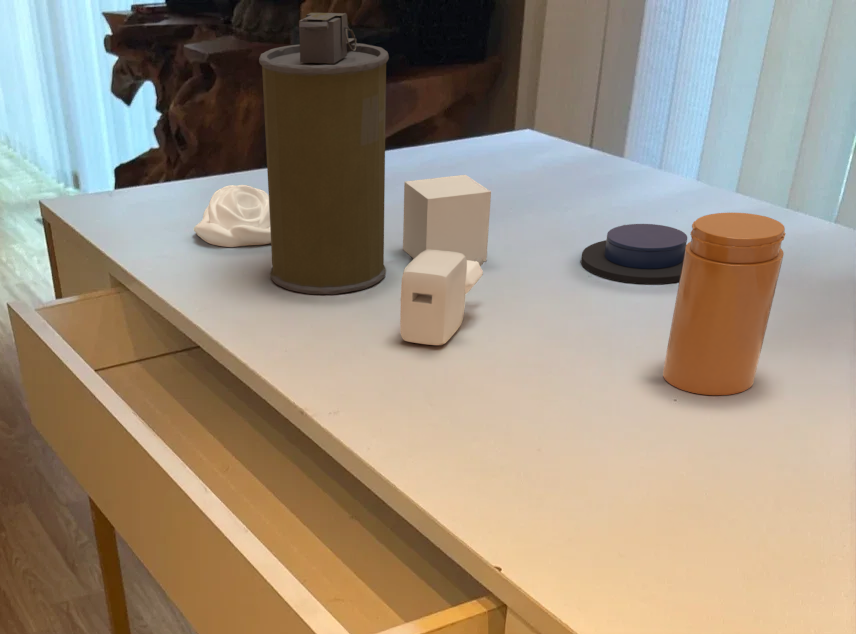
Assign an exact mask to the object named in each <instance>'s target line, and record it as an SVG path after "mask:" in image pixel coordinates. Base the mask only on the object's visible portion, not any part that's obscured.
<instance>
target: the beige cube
mask: <svg viewBox="0 0 856 634" xmlns="http://www.w3.org/2000/svg"><path fill="white" fill-rule="evenodd" d="M403 184H404V186H403V226H402V227H403V228H402V229H403V230H402V231H403V233H402V251H404V252H405V253H406V254H408V255H409V256H410V257H411V258H412V260H413V259H414V258H416V257H417V256H418V255H419V254H420V253H422V252H423V251H425V250H442V251H451V252H457V253H462V254H464V256H465V257H466V260H470V261H474V260H475V259H476V258H478V257H481V258H482V259H483V262H487V259H488V243H489V230H490V215H491V201H492V200H491V199H492V191H491V190H490V189H488V188H486V187H485V186H483V185H482V184H480V183H479V182H477V181H476V180H474V179H473V178H472V177H470V176H468V175H467V174H459V175H450V176H442V177H441V176H440V177H432V178H424V179H416V180H415V179H414V180H406V181H404V183H403Z"/></svg>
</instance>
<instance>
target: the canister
mask: <svg viewBox="0 0 856 634" xmlns="http://www.w3.org/2000/svg"><path fill="white" fill-rule="evenodd" d="M348 23H349V22H348V13H346V12H344V13H343V12H342V13H341V12H308V13H307V14H305V17H304V18H301V19H300V20H299V21H298V26H299V27H298V30H299V31H298V32H299V33H298V34H299V44H291V45H284V46H283V45H282V46H279V47H274V48H271V49H268V50H266V51H264V52H262V53H260V55H259V58H258V63H259V65H260V66H261V71H262V90H263V91H262V92H263V108H264V109H263V111H264V130H265V149H266V151H265V152H266V171H267V188H268V189H267V190H268V191H267V193H268V195H269V212H270V231H271V243H270V248H271V249H270V250H271V268H270V273H269V277H270V278H271V280H272V281H273V282H274V284H276V285H278V287H279V286H280V287H281V288H283V289H286V290H288V291H292V292H298V293H301V294H307V295H338V294H345V293H351V292H357V291H362V290H365V289H368V288H370V287H372V286H374V285H376V284H378V283H380V282H381V281H382V280H383V279H384V278H385V276H386V273H387V270H386V266H385V193H386V191H385V190H386V188H385V187H386V185H385V184H386V183H385V182H386V117H387V115H386V110H387V108H386V107H387V106H386V105H387V104H386V103H387V63H388V61H389V59H390V56H389V53H388V51H387V50H385V48H383V47H381V46H376V45H372V44H366V43H358V39H357V38H356V35H355V33H354V31H353V29H350V27H349V26H348ZM349 33H350V35H351V37H350V38H349Z"/></svg>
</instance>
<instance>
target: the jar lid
mask: <svg viewBox="0 0 856 634" xmlns="http://www.w3.org/2000/svg"><path fill="white" fill-rule="evenodd" d="M605 240H606V246H605V257H606V259H608V260H609V261H611V262H613V263H614V264H618V265H621V266H625V267H630V268H638V269H660V268H667V267H672V266H675V265H677V264H680V263H681V262H682V261H683V258H684V252H685V247H686V245H687V244H688V235H687V234H686V233H685V232H684V231H682V230H680V229H678V228H675V227H672V226H669V225H662V224H655V223H629V224H623V225H618V226H616V227H613V228H611V229H610V230H608V231H607V233H606V239H605Z"/></svg>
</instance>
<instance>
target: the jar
mask: <svg viewBox="0 0 856 634" xmlns="http://www.w3.org/2000/svg"><path fill="white" fill-rule="evenodd" d="M691 228H692V230H691V231H690V237H691V240H690V241H689V242H687V244H686V247H685V252H684V258H683V263H682V269H681V275H680V280H679V282H678V287H677V291H676V297H675V303H674V308H673V313H672V320H671V326H670V330H669V336H668V340H667V341H668V342H667V346H666V347H667V348H666V352H665V358H664V364H663V369H662V376H663V379H664V380H665V381H666V382H667V383H668V384H670V385H671V386H673V387H674V388H677V389H679V390H681V391H685V392H689V393H693V394H697V395H704V396H705V395H706V396H729V395H730V396H731V395H734V394H739V393H742V392H745V391H747V390H749V389H750V388H752V387H753V384H754V382H755V378H756V374H757V370H758V365H759V360H760V358H761V352H762V350H763V349H762V348H763V344H764V339H765V336H766V331H767V328H768V323H769V319H770V314H771V310H772V306H773V302H774V297H775V293H776V289H777V285H778V280H779V276H780V272H781V267H782V263H783V259H784V253H785V252H784V250H783V248H781V247H782V243H783V241H784V240H785V237H786V234H787V233H786V232H785V229H786V228H785V225H784V224H783V223H782V222H780V221H778V220H777V219H775V218H772V217H768V216H764V215H760V214H756V213H747V212H717V213H710V214H706V215H702V216H700V217H698V218H697V219H696V220H694V221H693V222H692V224H691Z"/></svg>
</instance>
